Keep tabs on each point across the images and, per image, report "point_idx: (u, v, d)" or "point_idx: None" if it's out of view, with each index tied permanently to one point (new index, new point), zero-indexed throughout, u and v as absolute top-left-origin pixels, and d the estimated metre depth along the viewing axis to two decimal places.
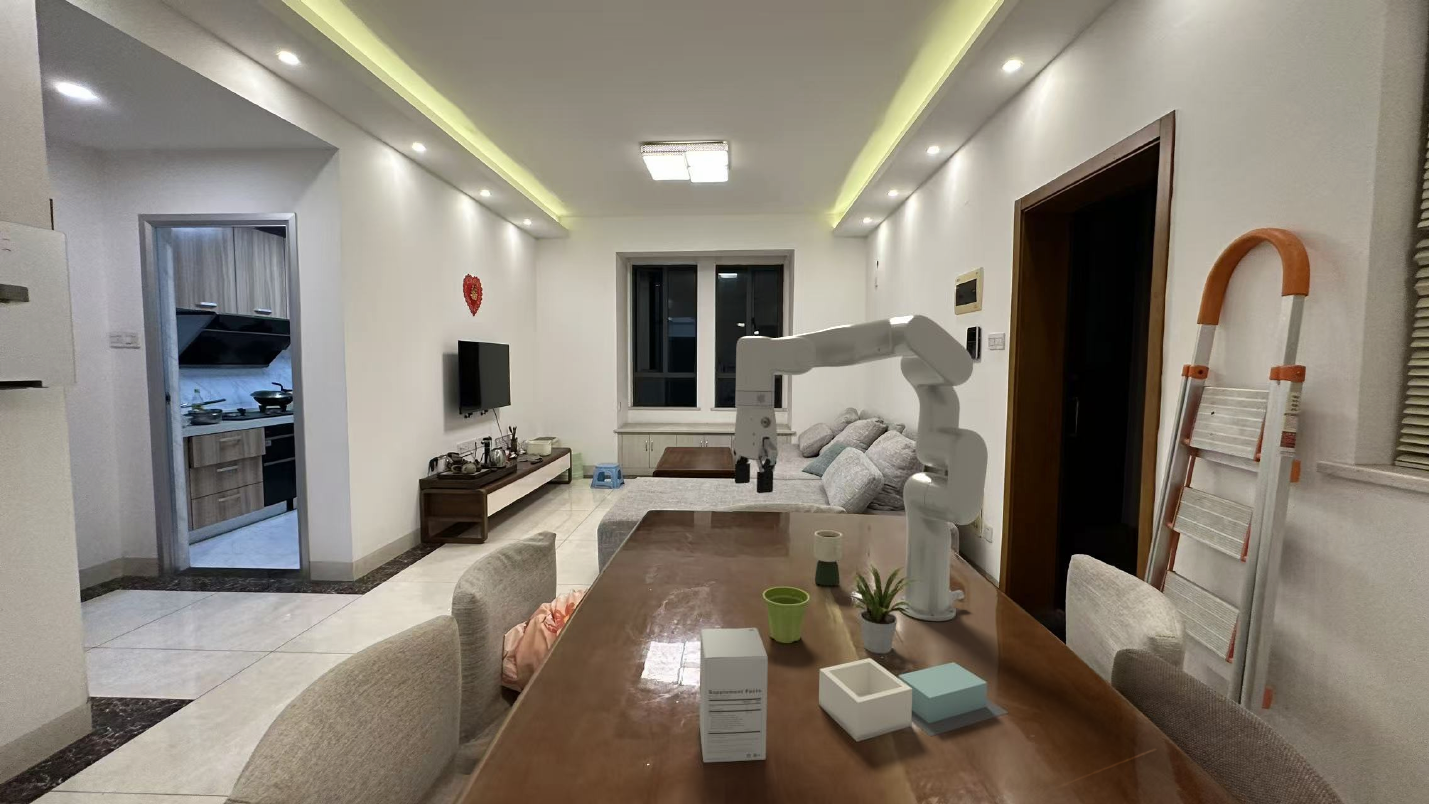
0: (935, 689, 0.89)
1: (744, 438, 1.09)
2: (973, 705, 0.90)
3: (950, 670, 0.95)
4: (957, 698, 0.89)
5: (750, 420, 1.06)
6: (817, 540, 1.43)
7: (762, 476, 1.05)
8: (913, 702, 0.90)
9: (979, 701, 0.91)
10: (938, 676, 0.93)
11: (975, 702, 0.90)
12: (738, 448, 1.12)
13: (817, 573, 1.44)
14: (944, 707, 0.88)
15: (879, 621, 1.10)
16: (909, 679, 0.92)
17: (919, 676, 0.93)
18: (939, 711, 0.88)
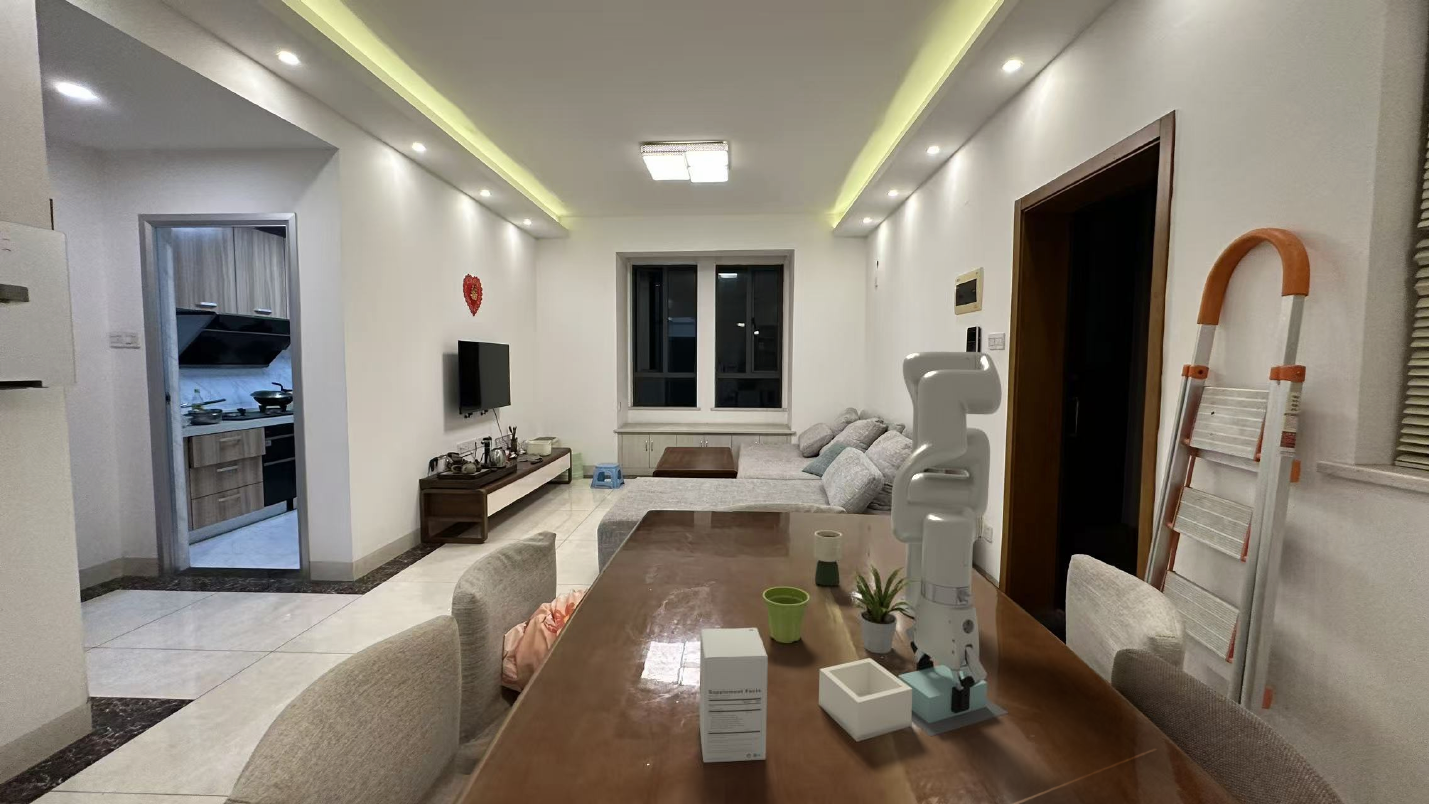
0: (935, 689, 0.89)
1: (935, 639, 0.90)
2: (973, 705, 0.90)
3: (950, 670, 0.95)
4: None
5: (948, 622, 0.88)
6: (817, 540, 1.43)
7: (959, 694, 0.88)
8: (913, 702, 0.90)
9: (979, 701, 0.91)
10: (938, 676, 0.93)
11: (975, 702, 0.90)
12: (922, 644, 0.93)
13: (817, 573, 1.44)
14: (944, 707, 0.88)
15: (879, 621, 1.10)
16: (909, 679, 0.92)
17: (919, 676, 0.93)
18: (939, 711, 0.88)
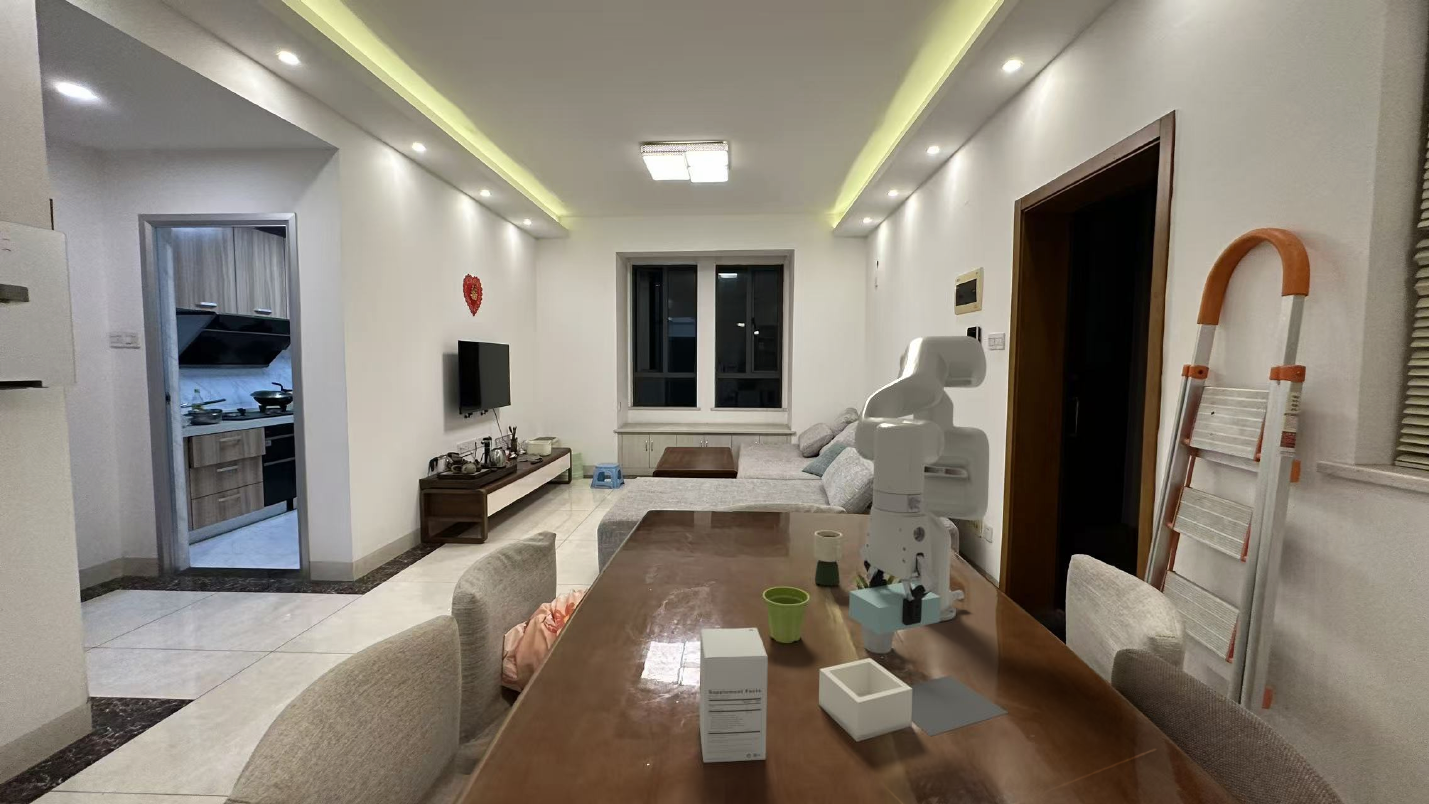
0: (886, 601, 0.86)
1: (887, 550, 0.87)
2: (926, 619, 0.87)
3: None
4: None
5: (899, 531, 0.85)
6: (817, 540, 1.43)
7: (910, 605, 0.85)
8: (864, 616, 0.86)
9: (932, 615, 0.88)
10: (891, 592, 0.90)
11: (928, 616, 0.87)
12: (874, 559, 0.90)
13: (817, 573, 1.44)
14: (895, 619, 0.85)
15: None
16: (860, 594, 0.89)
17: (871, 592, 0.89)
18: (889, 623, 0.84)
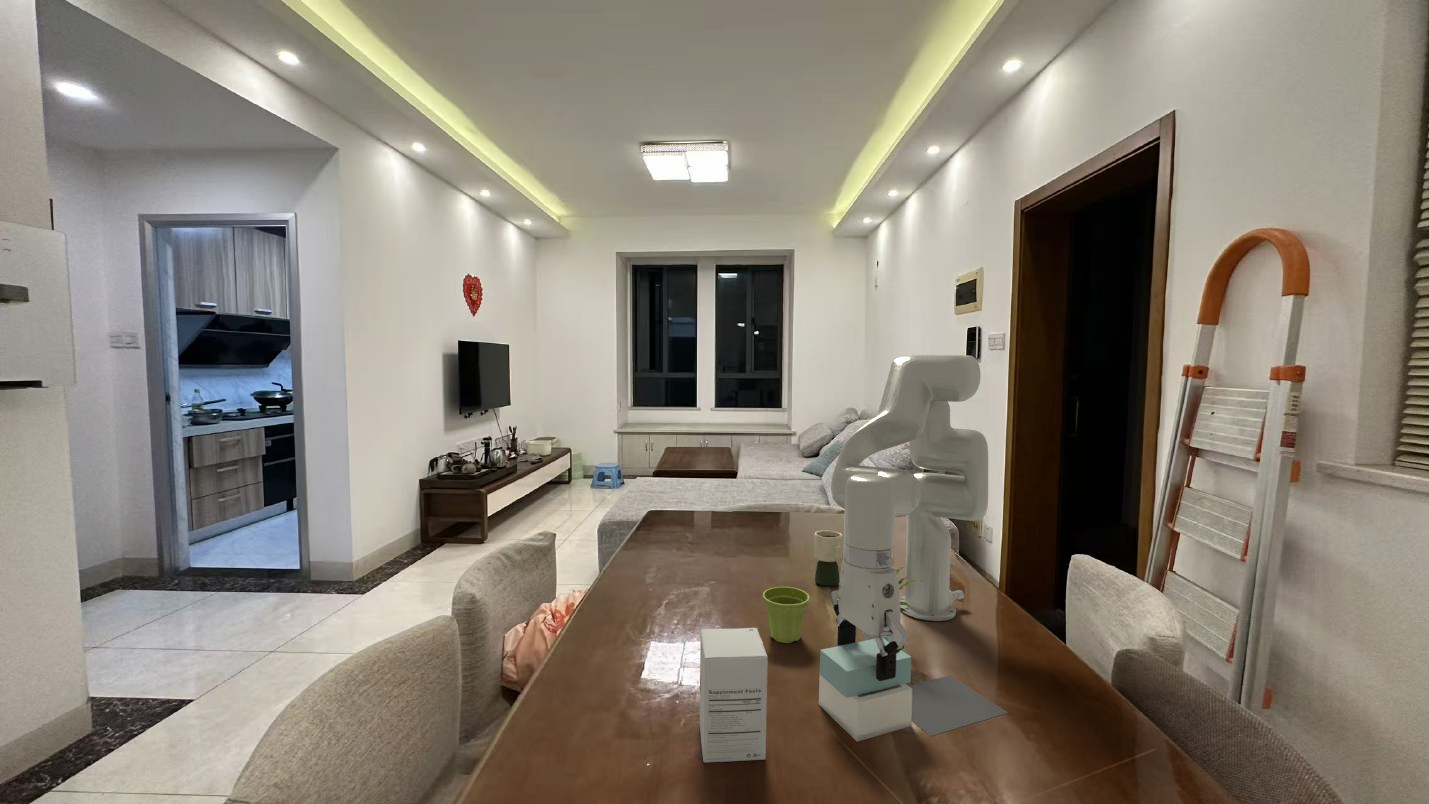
0: (855, 663, 0.85)
1: (856, 605, 0.86)
2: (896, 680, 0.87)
3: (876, 645, 0.91)
4: None
5: (867, 587, 0.84)
6: (817, 540, 1.43)
7: (884, 660, 0.83)
8: (833, 677, 0.86)
9: (903, 676, 0.87)
10: (862, 650, 0.89)
11: (898, 677, 0.87)
12: (846, 612, 0.89)
13: (817, 573, 1.44)
14: (863, 682, 0.84)
15: None
16: (831, 653, 0.88)
17: (842, 651, 0.89)
18: (858, 685, 0.84)
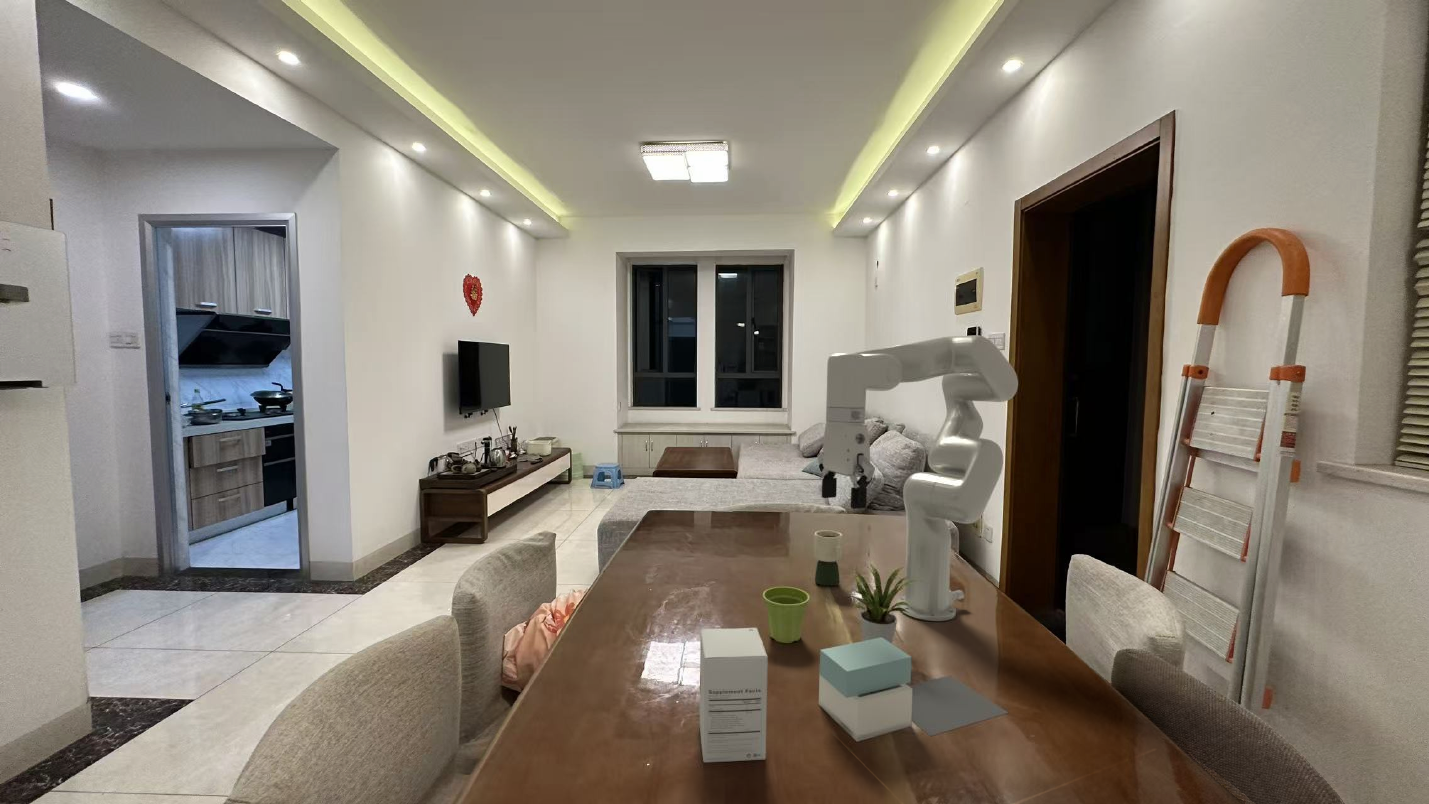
0: (855, 663, 0.85)
1: (836, 454, 1.10)
2: (896, 680, 0.87)
3: (876, 645, 0.91)
4: (878, 673, 0.85)
5: (844, 437, 1.08)
6: (817, 540, 1.43)
7: (857, 492, 1.06)
8: (833, 677, 0.86)
9: (903, 676, 0.87)
10: (862, 650, 0.89)
11: (898, 677, 0.87)
12: (828, 463, 1.13)
13: (817, 573, 1.44)
14: (863, 682, 0.84)
15: (879, 621, 1.10)
16: (831, 653, 0.88)
17: (842, 651, 0.89)
18: (858, 685, 0.84)
